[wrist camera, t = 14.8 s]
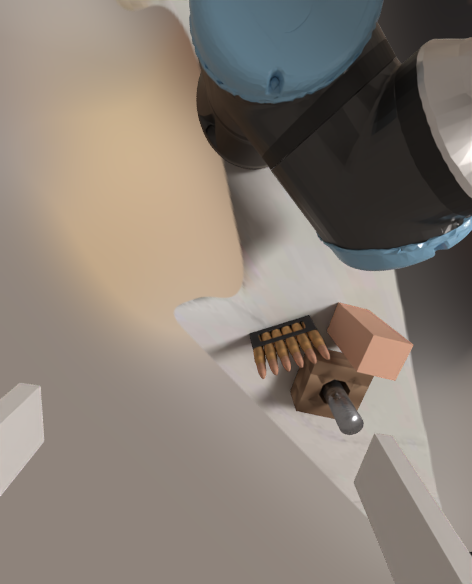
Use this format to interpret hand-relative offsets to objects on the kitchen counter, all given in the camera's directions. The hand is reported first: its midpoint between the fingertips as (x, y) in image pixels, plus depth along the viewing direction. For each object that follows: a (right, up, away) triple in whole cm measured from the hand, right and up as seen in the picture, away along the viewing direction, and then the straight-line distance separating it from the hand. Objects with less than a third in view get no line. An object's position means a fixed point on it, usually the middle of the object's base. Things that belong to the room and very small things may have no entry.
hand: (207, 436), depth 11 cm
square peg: (+20, +1, +36) cm, 41 cm away
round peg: (+17, -9, +39) cm, 44 cm away
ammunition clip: (+9, -1, +36) cm, 37 cm away
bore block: (+17, -9, +39) cm, 44 cm away
